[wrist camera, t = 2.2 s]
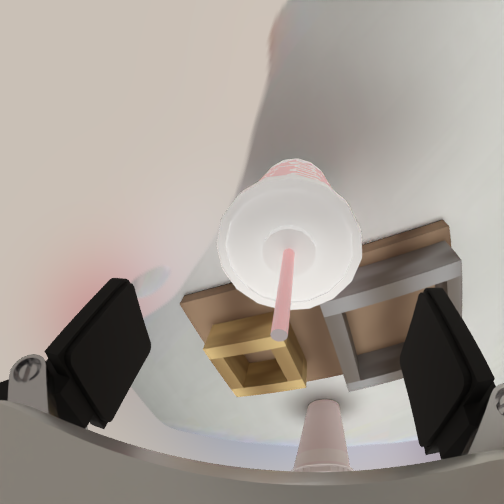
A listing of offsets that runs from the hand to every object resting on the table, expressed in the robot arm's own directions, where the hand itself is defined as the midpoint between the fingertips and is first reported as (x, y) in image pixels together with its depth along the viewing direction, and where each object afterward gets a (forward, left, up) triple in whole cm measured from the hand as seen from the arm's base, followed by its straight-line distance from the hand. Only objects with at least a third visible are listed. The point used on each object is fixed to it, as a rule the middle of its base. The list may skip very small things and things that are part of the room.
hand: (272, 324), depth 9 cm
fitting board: (+10, +3, -13) cm, 17 cm away
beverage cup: (-1, 0, -13) cm, 13 cm away
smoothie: (+24, +4, -13) cm, 28 cm away
